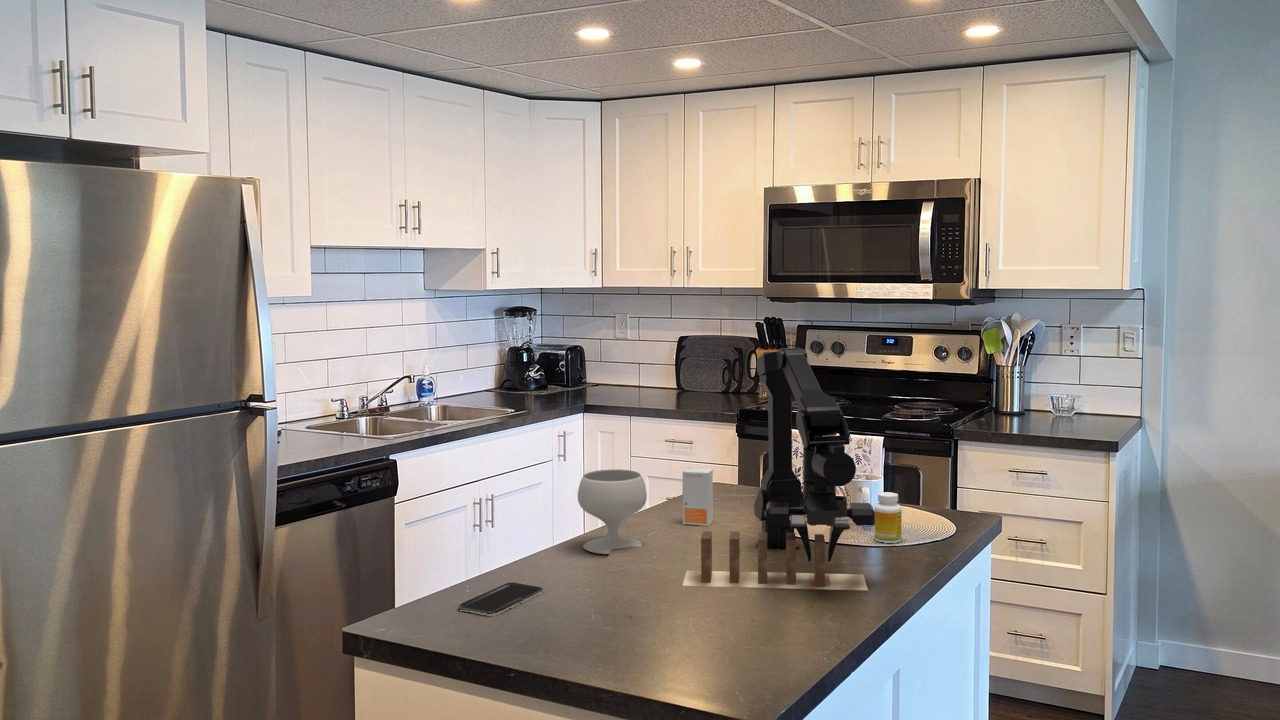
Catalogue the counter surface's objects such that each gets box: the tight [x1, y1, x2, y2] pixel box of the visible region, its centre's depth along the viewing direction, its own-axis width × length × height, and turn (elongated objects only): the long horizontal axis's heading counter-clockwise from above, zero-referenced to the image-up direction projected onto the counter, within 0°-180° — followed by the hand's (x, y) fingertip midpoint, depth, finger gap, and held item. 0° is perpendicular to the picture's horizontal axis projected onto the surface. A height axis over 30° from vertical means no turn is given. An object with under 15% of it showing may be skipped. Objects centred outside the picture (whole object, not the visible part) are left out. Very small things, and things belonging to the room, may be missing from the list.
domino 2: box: [728, 531, 741, 583], centre depth 188 cm, size 2×5×8 cm, turn 172°
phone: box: [458, 582, 544, 614], centre depth 182 cm, size 8×1×15 cm
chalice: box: [577, 468, 648, 555], centre depth 213 cm, size 14×14×15 cm
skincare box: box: [682, 467, 714, 527], centre depth 232 cm, size 6×4×12 cm
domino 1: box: [700, 530, 713, 583], centre depth 189 cm, size 2×5×8 cm, turn 173°
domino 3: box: [757, 531, 768, 584], centre depth 188 cm, size 2×5×8 cm, turn 173°
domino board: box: [682, 569, 869, 591], centre depth 188 cm, size 32×9×1 cm, turn 83°
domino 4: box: [785, 532, 797, 585], centre depth 187 cm, size 2×5×8 cm, turn 173°
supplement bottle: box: [873, 491, 903, 544], centre depth 216 cm, size 5×5×10 cm
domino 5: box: [814, 533, 826, 587], centre depth 186 cm, size 2×5×8 cm, turn 173°
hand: (819, 561), depth 186 cm, fingers open, 3 cm apart
